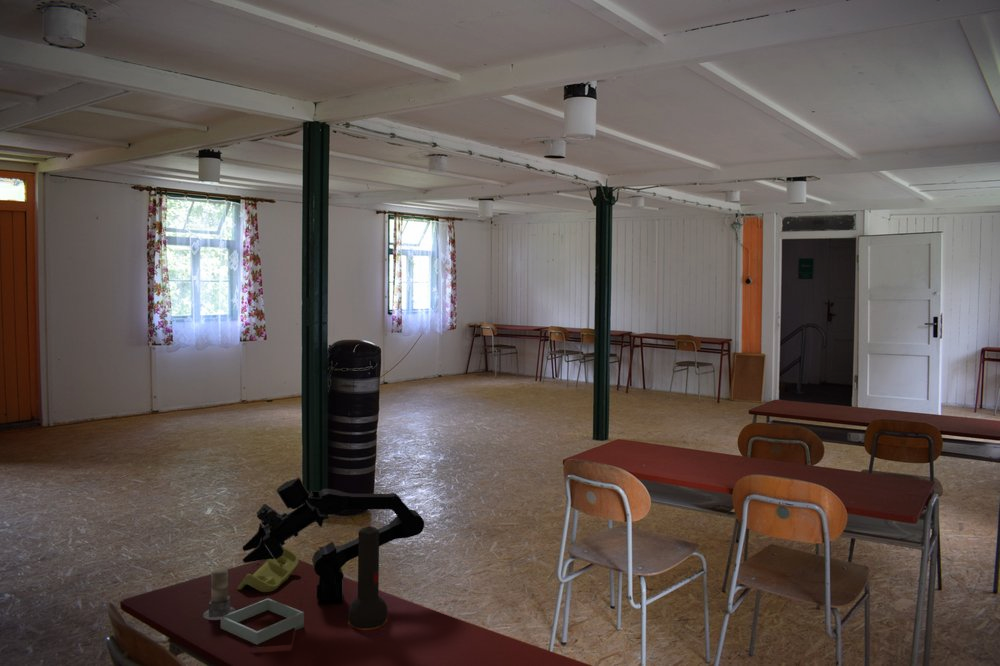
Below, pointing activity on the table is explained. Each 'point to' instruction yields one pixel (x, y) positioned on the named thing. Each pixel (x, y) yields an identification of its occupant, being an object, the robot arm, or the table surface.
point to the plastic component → (271, 573)
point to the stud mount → (206, 615)
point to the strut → (219, 593)
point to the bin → (293, 620)
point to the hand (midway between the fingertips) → (243, 555)
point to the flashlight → (368, 583)
